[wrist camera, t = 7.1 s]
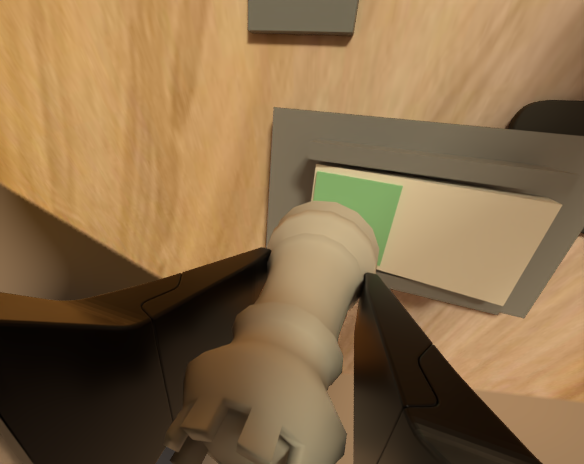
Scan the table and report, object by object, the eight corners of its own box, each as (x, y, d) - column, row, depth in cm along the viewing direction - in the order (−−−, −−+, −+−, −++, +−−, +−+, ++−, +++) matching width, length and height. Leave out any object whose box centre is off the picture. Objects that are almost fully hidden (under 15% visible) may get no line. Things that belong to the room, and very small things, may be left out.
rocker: (547, 197, 13) (564, 205, 11) (495, 291, 15) (504, 308, 14) (323, 161, 17) (314, 164, 15) (311, 240, 19) (303, 249, 18)
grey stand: (614, 139, 14) (710, 145, 10) (513, 304, 19) (551, 352, 15) (280, 108, 18) (255, 103, 14) (271, 248, 23) (251, 273, 20)
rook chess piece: (383, 289, 11) (397, 603, 4) (288, 288, 12) (174, 509, 5) (374, 189, 9) (371, 412, 2) (266, 203, 11) (66, 358, 4)
